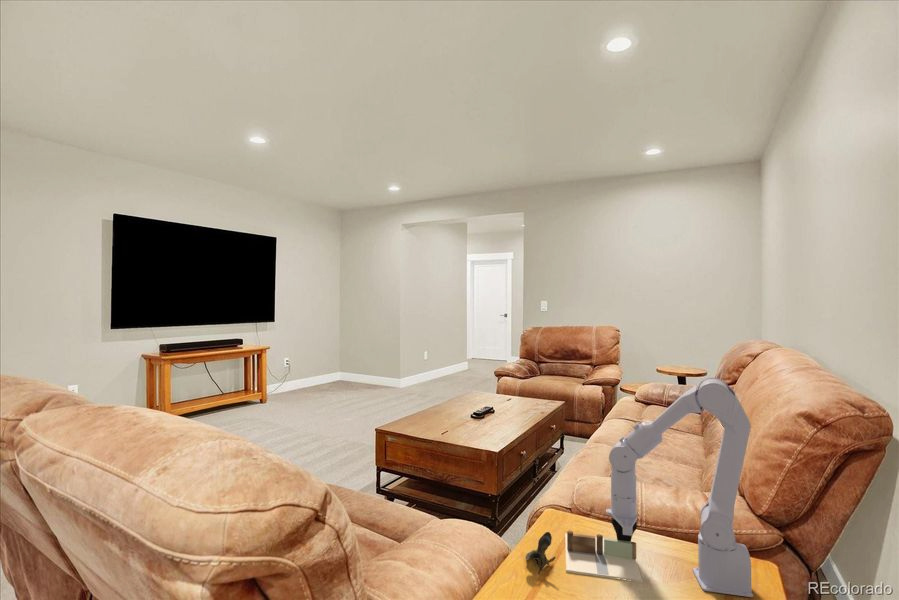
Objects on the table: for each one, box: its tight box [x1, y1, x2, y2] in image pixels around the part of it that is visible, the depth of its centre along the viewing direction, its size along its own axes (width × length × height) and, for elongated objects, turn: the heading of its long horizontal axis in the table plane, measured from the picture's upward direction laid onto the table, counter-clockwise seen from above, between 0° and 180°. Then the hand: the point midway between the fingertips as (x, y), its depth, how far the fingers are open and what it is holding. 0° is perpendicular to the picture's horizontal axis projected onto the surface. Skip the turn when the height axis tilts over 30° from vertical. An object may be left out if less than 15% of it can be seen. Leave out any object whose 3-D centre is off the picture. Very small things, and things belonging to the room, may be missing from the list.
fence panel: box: [603, 537, 637, 560], centre depth 106 cm, size 7×1×4 cm, turn 72°
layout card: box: [564, 532, 643, 583], centre depth 107 cm, size 16×17×1 cm
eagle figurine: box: [525, 531, 556, 575], centre depth 104 cm, size 8×7×9 cm
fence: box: [566, 530, 604, 555], centre depth 108 cm, size 8×1×4 cm, turn 76°
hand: (623, 550), depth 107 cm, fingers closed, pressing on fence panel
